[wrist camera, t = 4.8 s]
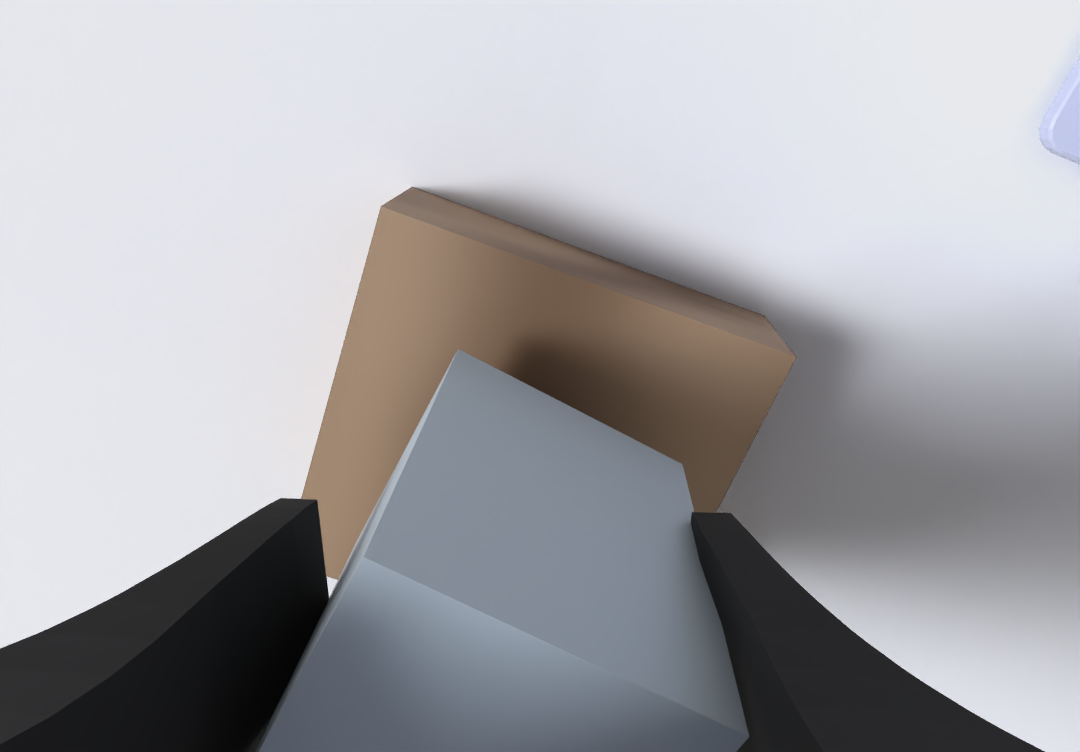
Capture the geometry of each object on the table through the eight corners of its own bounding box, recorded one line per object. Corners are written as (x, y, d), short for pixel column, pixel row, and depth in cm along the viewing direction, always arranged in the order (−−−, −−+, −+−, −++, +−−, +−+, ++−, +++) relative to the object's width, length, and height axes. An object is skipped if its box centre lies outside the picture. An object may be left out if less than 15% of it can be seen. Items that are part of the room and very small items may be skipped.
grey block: (682, 464, 14) (748, 736, 8) (561, 636, 15) (548, 962, 10) (458, 349, 13) (363, 556, 7) (357, 540, 15) (216, 829, 9)
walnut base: (760, 310, 17) (796, 357, 14) (625, 590, 20) (632, 674, 17) (415, 184, 16) (380, 206, 13) (327, 491, 19) (283, 562, 16)
